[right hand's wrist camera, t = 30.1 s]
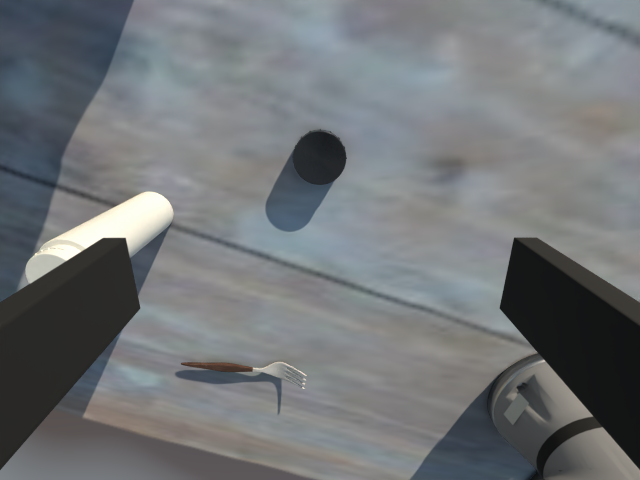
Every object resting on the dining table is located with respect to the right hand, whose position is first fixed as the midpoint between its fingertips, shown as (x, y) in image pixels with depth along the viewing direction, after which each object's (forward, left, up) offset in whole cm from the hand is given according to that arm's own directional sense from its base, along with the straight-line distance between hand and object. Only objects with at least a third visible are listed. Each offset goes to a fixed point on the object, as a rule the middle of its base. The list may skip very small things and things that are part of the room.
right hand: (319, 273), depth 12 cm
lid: (0, 0, -25) cm, 25 cm away
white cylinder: (-3, +19, -27) cm, 33 cm away
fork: (-25, +13, -27) cm, 39 cm away
